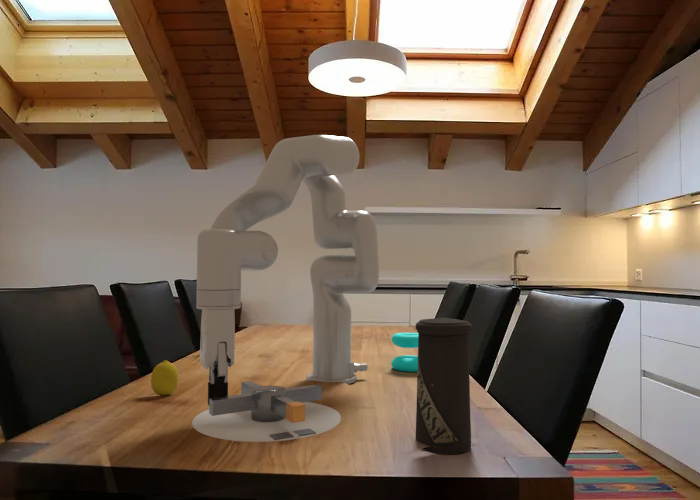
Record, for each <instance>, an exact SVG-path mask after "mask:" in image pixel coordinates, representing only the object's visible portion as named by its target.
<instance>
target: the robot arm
mask: <svg viewBox="0 0 700 500" xmlns="http://www.w3.org/2000/svg"><path fill="white" fill-rule="evenodd" d="M359 163H360V150H359V148H358V146H357V144H356V142H355V141H354V140H353V139H351V138H350V137H347V136H337V135H328V134H312V135H304V136H295V137H289V138H284V139H281V140H280V141H278V142H277V143H276V144H275V145H274V146H273V149H272V150H271V152H270V154H269V156H268V159H267V160H266V162H265V164H264V165H263V167H262V169H261V172H260V174H259V175H258V176H257V179H256V181H255V183H254V185H252V186H251V187H250V188H249V189H247V190H245V192H243V193H241V194H240V195H239V196H238V197H236V199H233V201H231V202H230V203H229V204H227V206H226V207H224V208H223V209H222V210H221V212H220V213H219V214H218V215H217V217H216V219H214V221H213V224H212V225H211V228H209V229H208V228H207V229H203V230H200V232H199V233H198V235H197V238H196V240H197V241H196V245H197V247H196V248H197V249H196V303H195V305H196V307H195V308H196V309H197V310H201V319H200V321H201V322H200V340H199V342H200V344H199V345H200V346H199V347H200V348H199V361H200V363H201V365H202V367H203V368H204V369H206V370H208V382H207V405H208V406H209V398H217V397H224V396H229V382H228V375H229V374H228V373H229V368H231V367H233V366H234V363H235V349H236V348H235V347H236V346H235V345H236V344H235V343H236V342H235V341H236V340H235V338H236V337H235V335H236V333H235V331H236V325H235V324H236V320H235V319H236V317H235V316H236V315H235V310H238V309H241V303H242V271H243V272H245V271H247V272H249V271H250V272H252V271H253V272H254V271H255V272H256V271H257V272H258V271H263V270H267V269H268V268H270V267H271V266H273V264H275V262H276V260H277V258H278V255H279V248H278V244H277V241H276V240H275V238H274V237H273V236H272V235H271V234H269V233H268V232H265V231H262V230H249V229H250V228H251V227H253V226H255V225H257V224H258V223H261V222H263V221H266V220H268V219H272V218H273V217H275V216H277V215H279V214H282V213H283V212H285V211H287V210H288V209H289V208H290V207H291V205H292V204H293V203H294V202H293V201H294V199H295V197H296V195H297V193H298V190H299V188H300V185H301V184H302V181H303V183H304V184H305V186H306V188H307V189H308V191H309V195H310V200H311V202H310V203H311V210H312V211H311V212H312V213H311V214H312V228H313V237H314V243H315V244H316V246H318V247H319V248H321V249H323V250H353V251H354V254H343V253H342V254H325V255H321V256H319V257H316V258H315V259H314V260H313V261H312V263H311V265H310V269H309V270H310V271H309V276H310V282H311V283H310V284H311V288H312V295H313V296H312V297H313V298H312V299H313V324H312V325H313V327H312V329H313V330H312V334H313V335H312V372H310V373H308V374H307V375H306V382H307V381H313V382H321V383H343V384H345V385H346V384H347V385H349V384H354V383H355V382H357V375H356V374H355V373H357V372H364V371H365V372H366V371H367V370H368V364H367V363H366V362H362V363H357V362H354V361H351V358H352V357H351V354H352V352H351V351H352V346H351V345H352V308H351V305H350V303H349V301H348V299H347V297H345V295H344V294H346V293H347V294H348V293H350V294H369V293H372V292H374V291H375V290H376V288H377V286H378V284H379V281H380V280H379V278H380V263H379V246H378V232H377V230H378V229H377V224H376V221H375V219H374V217H373V216H372V214H371V213H369V211H365V210H347V204H346V203H347V202H346V193H345V190H344V187H343V184H341V182H340V181H339V179H338V177H336V176H346V175H350V174H352V173H354V172H355V171H356V170H357V168H358V166H359Z"/></svg>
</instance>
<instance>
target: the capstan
mask: <svg viewBox="0 0 700 500" xmlns="http://www.w3.org/2000/svg"><path fill="white" fill-rule="evenodd" d="M240 383H241V385H240V394H234V395H228V396H224V397H217V398H209V405H208V409H209V414H211V415H212V416H216V415H223V414H229V413H236V412H243V411H249V410H251V419H252V420H253V421H256V422H277V421H281V420H283V419H284V418H286V420H288V421H290V422H292V423H296V422H302V421H305V404H303V402H315V401H321V400H322V394H323V393H322V390H323V386H322V385H319V384H310V385H302V386H295V387H289V388H288V387H287V388H286V387H284V386H281V385H261V384H258V383H256V382H254V381H251V380H245V381H240Z"/></svg>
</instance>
